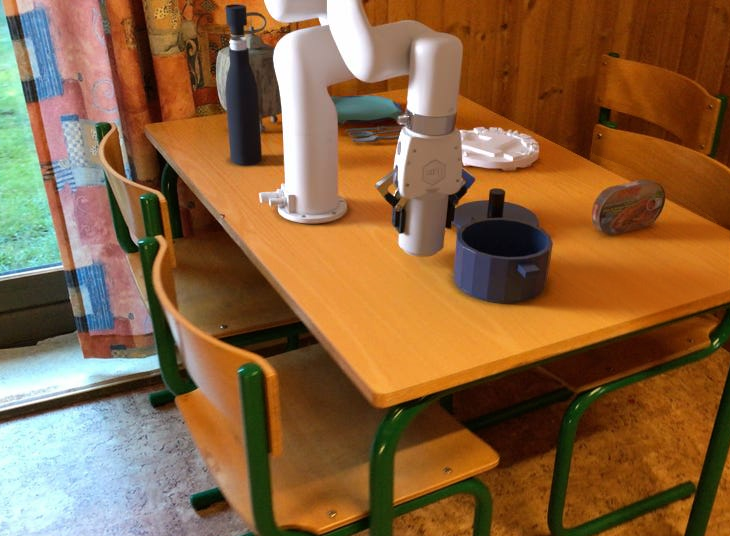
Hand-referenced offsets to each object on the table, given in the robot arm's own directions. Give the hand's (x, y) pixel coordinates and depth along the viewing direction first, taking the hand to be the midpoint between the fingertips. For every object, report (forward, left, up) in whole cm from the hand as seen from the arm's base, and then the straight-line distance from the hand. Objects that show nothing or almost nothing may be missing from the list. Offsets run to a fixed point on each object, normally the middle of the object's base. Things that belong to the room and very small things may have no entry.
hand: (422, 226), depth 137 cm
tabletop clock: (-14, +69, -6) cm, 71 cm away
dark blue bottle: (-20, +51, -6) cm, 55 cm away
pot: (+9, -11, -6) cm, 15 cm away
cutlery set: (+11, +68, -6) cm, 69 cm away
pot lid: (+17, +9, -5) cm, 20 cm away
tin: (+39, +1, -6) cm, 40 cm away
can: (0, 0, -4) cm, 4 cm away
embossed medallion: (+31, +41, -6) cm, 52 cm away
